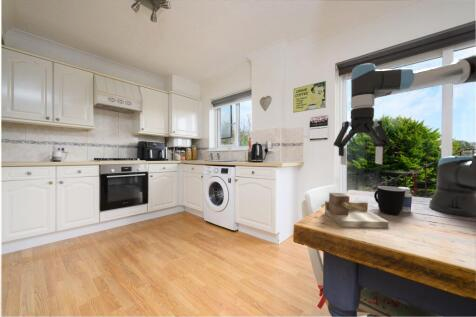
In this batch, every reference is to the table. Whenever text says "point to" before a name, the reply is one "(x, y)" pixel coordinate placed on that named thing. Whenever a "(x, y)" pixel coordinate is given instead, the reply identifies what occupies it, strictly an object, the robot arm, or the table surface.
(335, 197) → the block
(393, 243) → the table surface
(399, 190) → the mug
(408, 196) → the pill bottle
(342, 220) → the board
